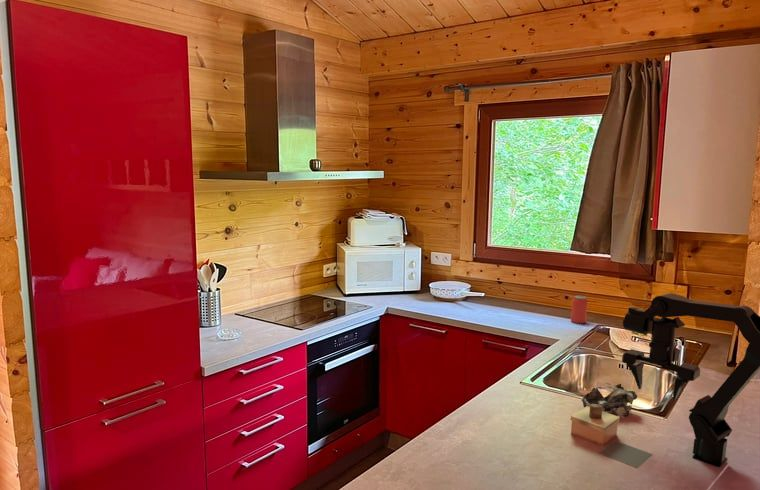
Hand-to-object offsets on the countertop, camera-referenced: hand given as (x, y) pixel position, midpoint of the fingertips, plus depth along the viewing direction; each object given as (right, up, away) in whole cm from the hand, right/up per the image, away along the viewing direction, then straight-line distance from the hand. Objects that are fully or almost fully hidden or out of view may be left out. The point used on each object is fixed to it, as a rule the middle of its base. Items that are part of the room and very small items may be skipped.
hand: (656, 393), depth 161 cm
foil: (-7, -10, +16) cm, 21 cm away
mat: (-12, -14, -9) cm, 20 cm away
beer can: (+16, +5, +112) cm, 113 cm away
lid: (-17, -8, +1) cm, 18 cm away
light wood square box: (-17, -12, +2) cm, 21 cm away
